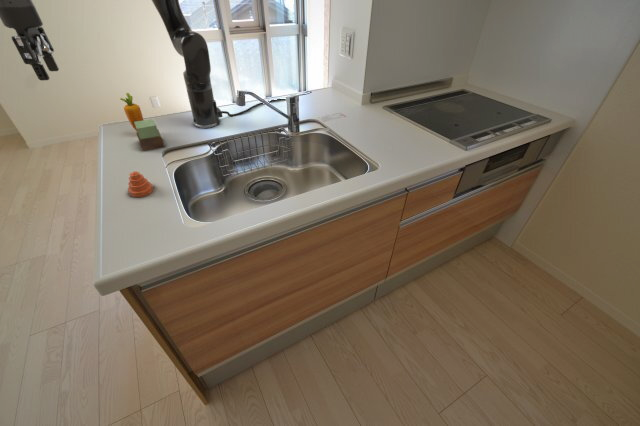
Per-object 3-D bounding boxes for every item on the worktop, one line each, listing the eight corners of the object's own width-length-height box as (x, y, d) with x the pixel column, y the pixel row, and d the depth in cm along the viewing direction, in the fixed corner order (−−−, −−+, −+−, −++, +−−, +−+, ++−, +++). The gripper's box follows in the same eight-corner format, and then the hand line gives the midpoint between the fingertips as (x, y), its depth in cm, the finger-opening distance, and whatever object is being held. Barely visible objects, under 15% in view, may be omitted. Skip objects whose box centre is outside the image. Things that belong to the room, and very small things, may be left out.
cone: (151, 183, 88) (144, 164, 84) (154, 193, 84) (147, 174, 80) (128, 188, 85) (120, 169, 81) (131, 199, 82) (122, 180, 77)
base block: (161, 138, 109) (157, 128, 106) (164, 147, 105) (161, 136, 102) (140, 142, 106) (136, 132, 103) (142, 151, 102) (138, 140, 99)
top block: (156, 129, 106) (153, 118, 103) (159, 136, 102) (156, 125, 99) (138, 132, 103) (134, 121, 101) (140, 139, 99) (136, 128, 97)
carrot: (143, 138, 108) (128, 97, 99) (131, 136, 109) (115, 95, 99) (151, 132, 112) (138, 92, 102) (139, 131, 113) (125, 91, 103)
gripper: (21, 7, 66) (58, 82, 77) (42, 0, 76) (72, 67, 87) (-22, 6, 64) (23, 84, 74) (5, -1, 74) (41, 68, 84)
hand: (50, 75), depth 81 cm, fingers open, 8 cm apart
